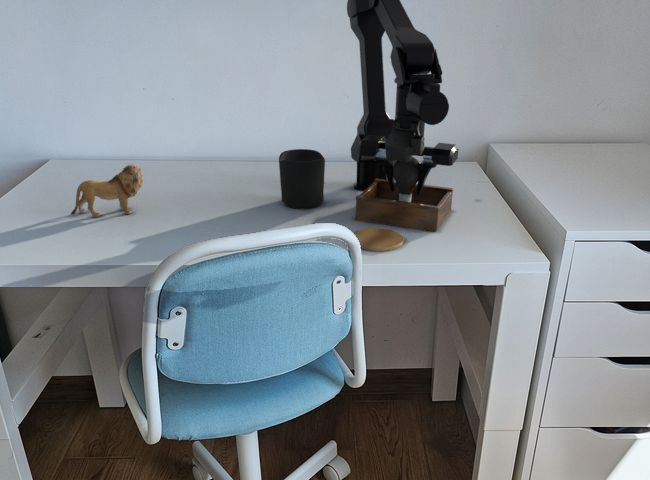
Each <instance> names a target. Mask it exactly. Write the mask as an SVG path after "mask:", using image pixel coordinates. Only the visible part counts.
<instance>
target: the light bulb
mask: <svg viewBox="0 0 650 480" xmlns="http://www.w3.org/2000/svg"><path fill="white" fill-rule="evenodd" d="M420 163H421V162H420V161H419V160H418V159H417V158H416V157H414V156H412V159H411V161H409V162H406V163H405V162H402V161H396V162H395V164H394V167H393V176H394V179H395V181H396V183H397V185H398V191H399V201H403V202H411V196H412V192H413V189H414V186H415V185H416V184H418V178H419V172H420V166H419V164H420Z"/></svg>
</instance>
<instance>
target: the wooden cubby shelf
mask: <svg viewBox="0 0 650 480" xmlns="http://www.w3.org/2000/svg"><path fill="white" fill-rule="evenodd" d="M417 184H418V183H416V185H415V186H414V189H413V192H412V196H411V202H403V201H399V191H398V185H397V183H396V185H395V191H394V192H392V191H391V188H390V185H389V182H388V180H384V179H375V180H374V182H373V183H372V184H371V185H370V186H369V187H368V188H367V189H366V190H363V191H362V192H361V193H360V194H357V195H356V196H355V221H360V222H361V221H362V222H368V223H374V224H381V225H389V226H396V227H402V228H409V229H416V230H423V231H430V232H437V231H438V230H439V229H440V227H441V226H442V224H443V223H444V222H445V220H446V219H447V217H448V216H449V214H450V213H451V212H452V206H453V205H452V203H453V194H454V188H452V187H445V186H438V185H430V184H424V185H423V188H422V190H421V192H420V194H419V195H417Z"/></svg>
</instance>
